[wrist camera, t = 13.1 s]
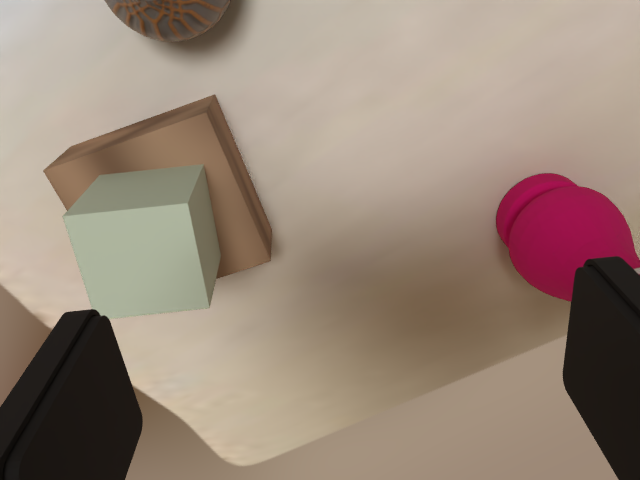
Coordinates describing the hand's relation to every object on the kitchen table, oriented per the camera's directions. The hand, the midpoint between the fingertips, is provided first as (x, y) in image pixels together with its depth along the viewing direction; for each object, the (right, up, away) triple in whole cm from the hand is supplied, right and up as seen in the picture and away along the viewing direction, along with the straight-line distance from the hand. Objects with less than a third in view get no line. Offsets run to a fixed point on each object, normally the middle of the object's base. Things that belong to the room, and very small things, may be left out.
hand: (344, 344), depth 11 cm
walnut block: (-10, +6, +27) cm, 29 cm away
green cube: (-10, +4, +22) cm, 25 cm away
